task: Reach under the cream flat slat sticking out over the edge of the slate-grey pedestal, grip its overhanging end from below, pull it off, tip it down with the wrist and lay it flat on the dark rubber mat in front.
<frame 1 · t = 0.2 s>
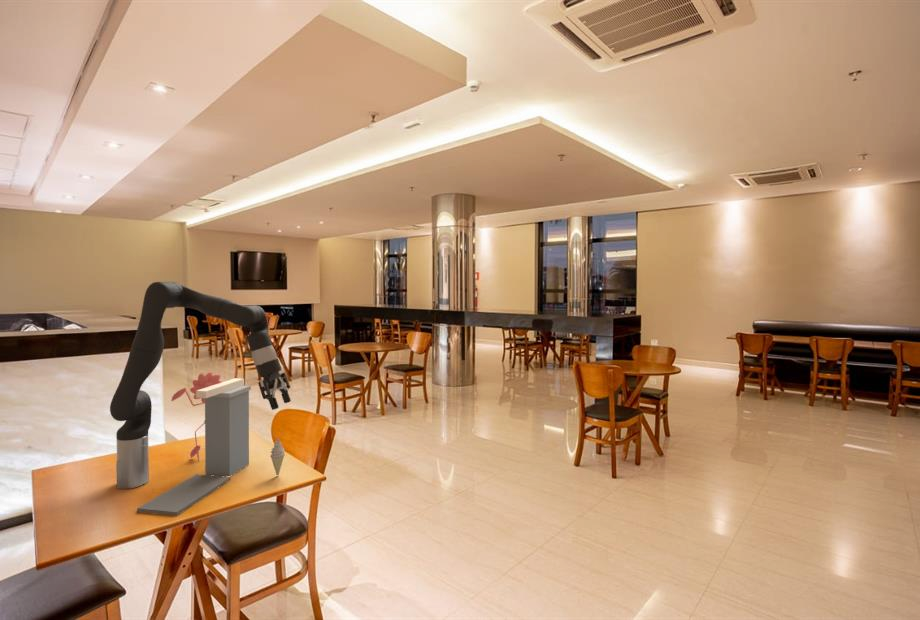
hand: (281, 405, 154), 31 cm above the table, tool tilted 20°, fingers open, 8 cm apart
mat: (187, 494, 154), on the table
pedestal: (227, 469, 175), on the table
figurine: (207, 454, 190), on the table
ice cream cone: (277, 476, 170), on the table
slat: (221, 390, 170), point 32 cm above the table, touching pedestal
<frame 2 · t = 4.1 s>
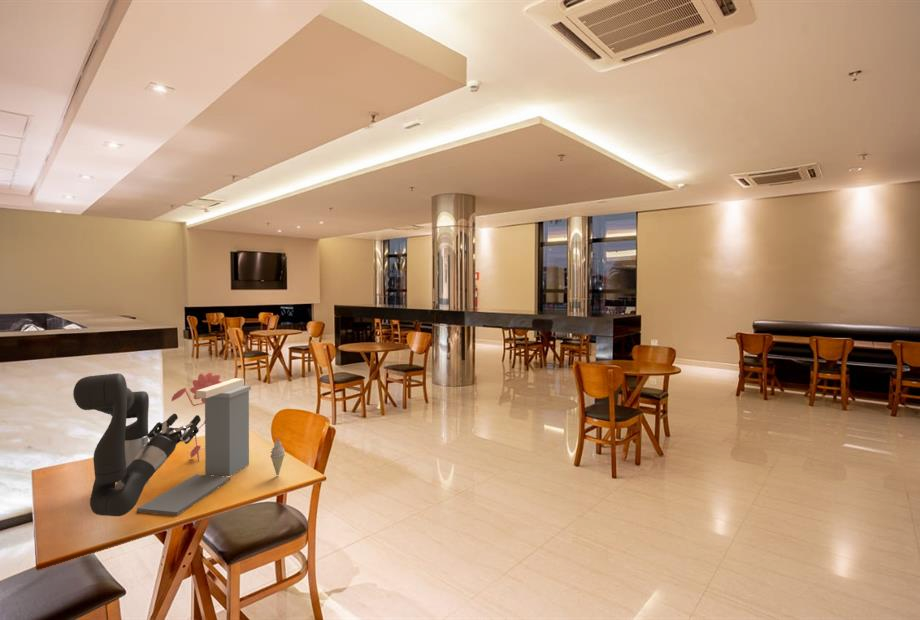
hand: (187, 416, 153), 27 cm above the table, tool pointing upward, fingers open, 8 cm apart
nothing on the table moved.
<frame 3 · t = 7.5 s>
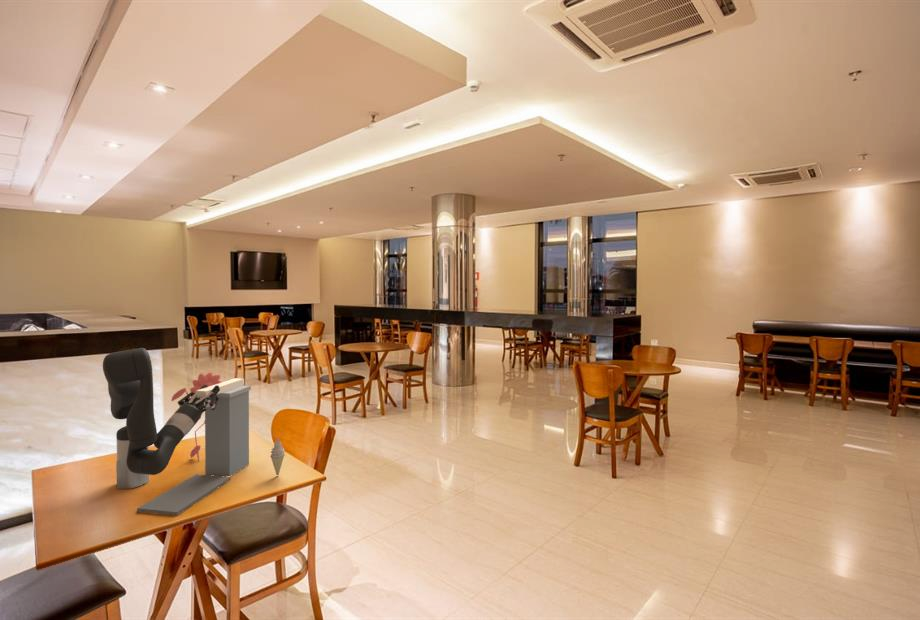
hand: (212, 386, 165), 35 cm above the table, tool pointing upward, fingers closed on slat, 4 cm apart
slat: (221, 390, 170), point 32 cm above the table, touching gripper, pedestal
everything else where it was.
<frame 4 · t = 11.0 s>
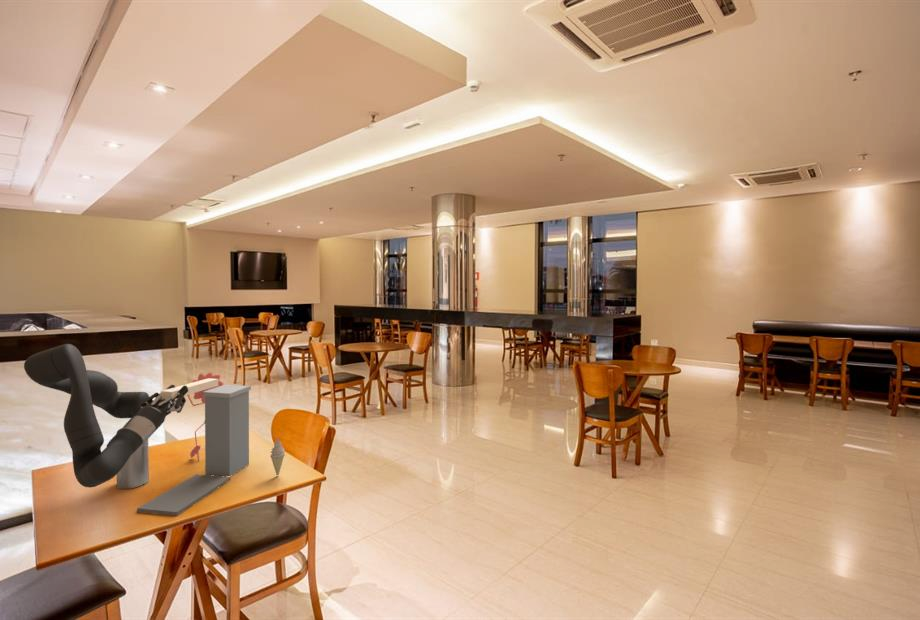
hand: (180, 387, 149), 38 cm above the table, tool pointing upward, fingers closed on slat, 4 cm apart
slat: (191, 391, 154), point 35 cm above the table, touching gripper
everything else where it was.
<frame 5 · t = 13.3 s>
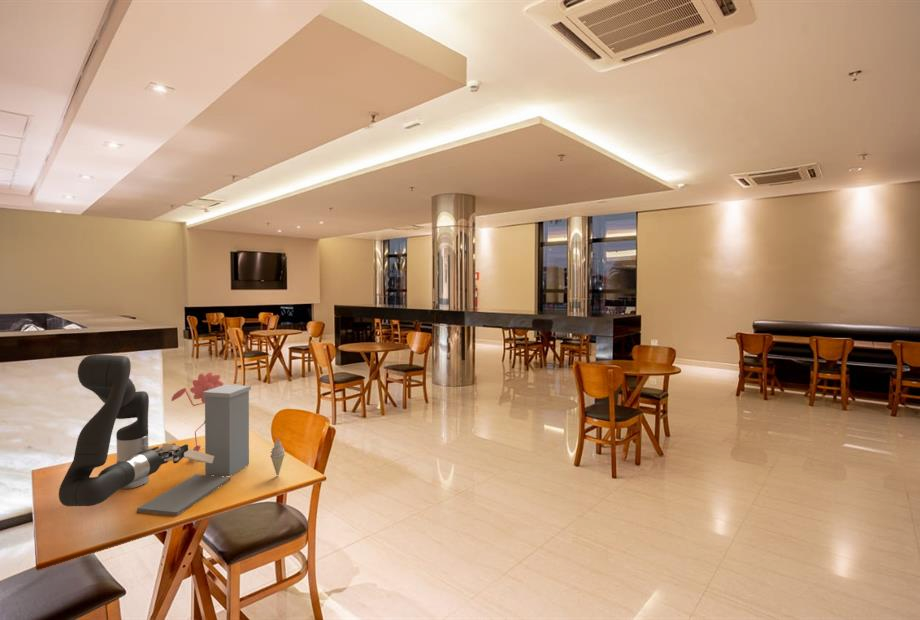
hand: (180, 446, 150), 18 cm above the table, tool horizontal, fingers closed on slat, 4 cm apart
slat: (187, 457, 153), point 13 cm above the table, tilted 30°, touching gripper
everything else where it was.
when the fingers open (12 cm above the table, at t = 14.8 s): slat drops 6 cm, resting on mat.
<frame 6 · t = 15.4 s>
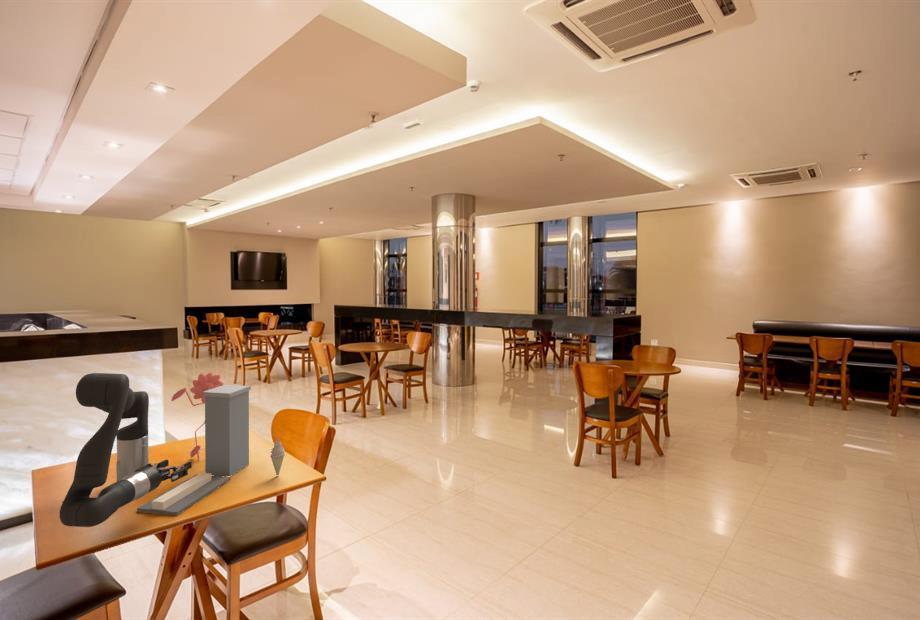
hand: (179, 463, 150), 13 cm above the table, tool horizontal, fingers open, 8 cm apart
slat: (183, 493, 152), point 1 cm above the table, touching mat
everything else where it was.
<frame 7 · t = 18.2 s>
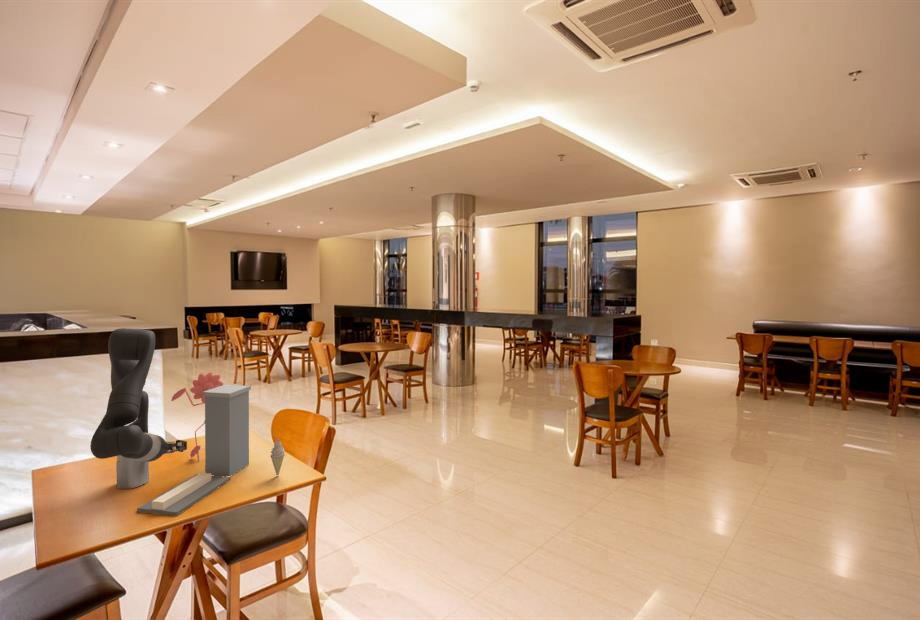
hand: (167, 451, 143), 19 cm above the table, tool tilted 65°, fingers open, 8 cm apart
nothing on the table moved.
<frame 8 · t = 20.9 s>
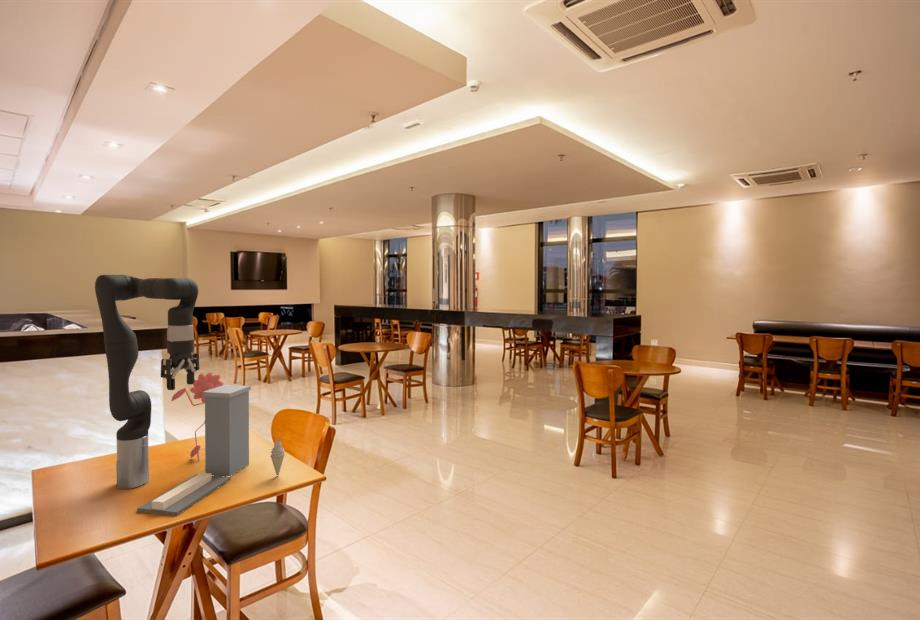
hand: (181, 386, 149), 38 cm above the table, tool pointing down, fingers open, 8 cm apart
nothing on the table moved.
at the end: slat touching mat; slat inside the target area (1.9 cm from its centre), point 1.2 cm above the table; slat tilted 0° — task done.
